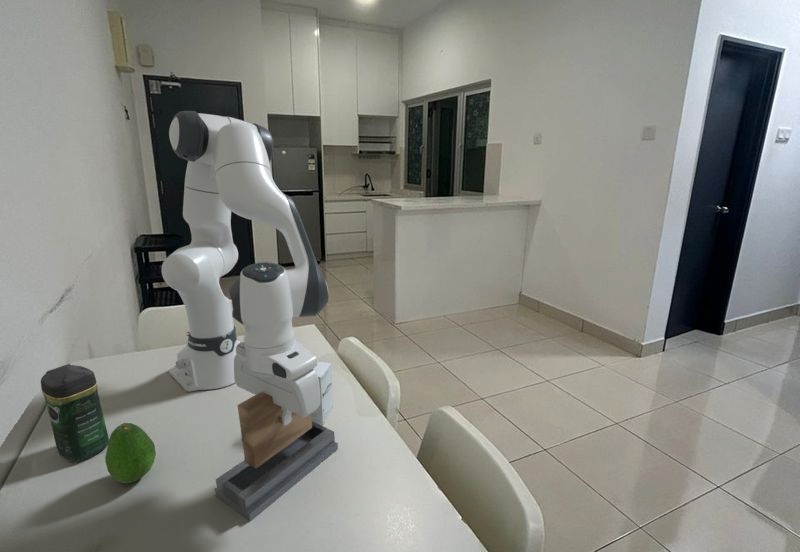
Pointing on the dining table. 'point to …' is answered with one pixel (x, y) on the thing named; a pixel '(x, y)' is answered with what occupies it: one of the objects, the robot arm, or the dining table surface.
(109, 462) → the avocado
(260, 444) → the door panel
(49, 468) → the dining table surface
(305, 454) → the tray
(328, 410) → the supplement box
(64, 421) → the coffee jar
